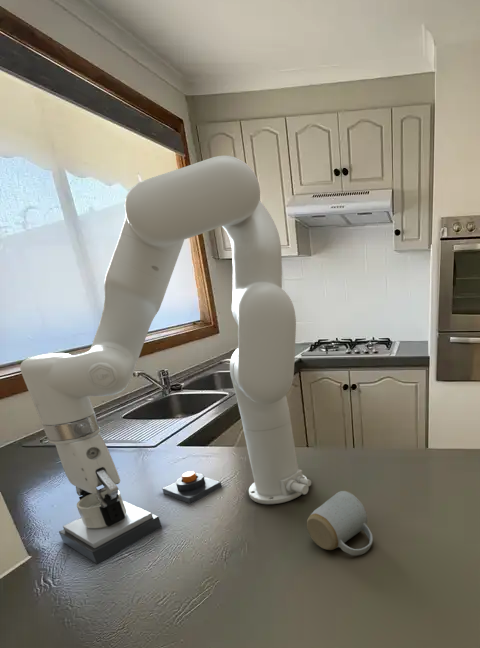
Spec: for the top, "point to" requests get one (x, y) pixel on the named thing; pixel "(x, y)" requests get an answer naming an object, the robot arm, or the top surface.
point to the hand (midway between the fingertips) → (105, 516)
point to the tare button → (189, 476)
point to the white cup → (94, 510)
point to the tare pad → (192, 488)
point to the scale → (110, 534)
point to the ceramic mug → (339, 523)
